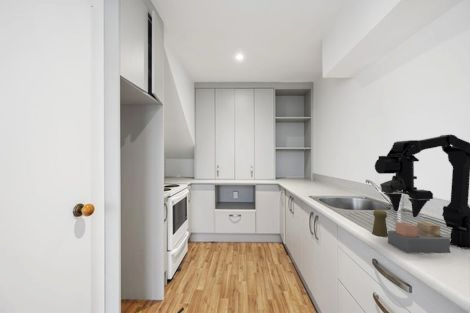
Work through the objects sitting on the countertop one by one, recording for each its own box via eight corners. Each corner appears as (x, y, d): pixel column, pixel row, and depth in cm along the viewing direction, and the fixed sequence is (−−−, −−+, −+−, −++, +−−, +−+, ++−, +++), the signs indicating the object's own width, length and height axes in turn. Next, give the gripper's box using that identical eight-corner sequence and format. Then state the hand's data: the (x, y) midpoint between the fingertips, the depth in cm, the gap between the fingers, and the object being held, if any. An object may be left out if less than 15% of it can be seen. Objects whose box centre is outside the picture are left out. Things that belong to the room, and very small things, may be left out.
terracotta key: (407, 236, 92) (407, 222, 92) (417, 241, 87) (417, 226, 87) (395, 237, 91) (395, 222, 91) (405, 241, 87) (405, 226, 87)
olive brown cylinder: (380, 237, 101) (380, 211, 101) (368, 233, 107) (369, 208, 107) (391, 236, 102) (391, 211, 103) (379, 232, 108) (379, 208, 108)
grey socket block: (425, 242, 95) (425, 230, 95) (449, 252, 85) (449, 238, 85) (388, 243, 94) (388, 230, 94) (407, 253, 84) (407, 239, 84)
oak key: (428, 236, 92) (429, 222, 92) (440, 241, 87) (440, 225, 87) (417, 236, 92) (417, 222, 92) (428, 241, 87) (428, 225, 87)
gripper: (368, 172, 98) (369, 209, 98) (403, 175, 80) (403, 221, 80) (394, 171, 99) (394, 208, 99) (434, 175, 80) (434, 220, 80)
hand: (404, 214), depth 89 cm, fingers open, 9 cm apart
